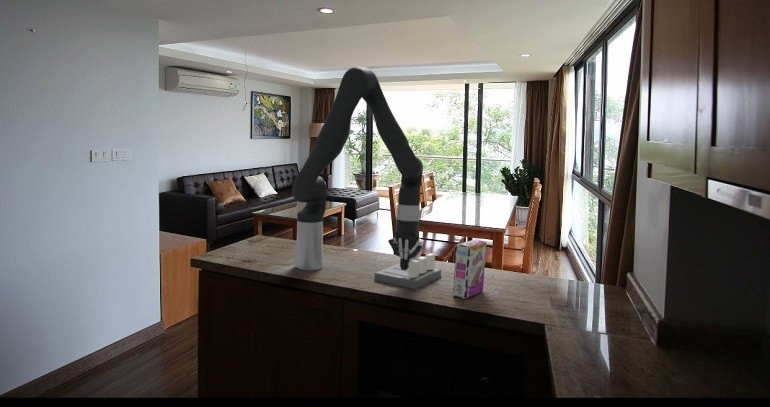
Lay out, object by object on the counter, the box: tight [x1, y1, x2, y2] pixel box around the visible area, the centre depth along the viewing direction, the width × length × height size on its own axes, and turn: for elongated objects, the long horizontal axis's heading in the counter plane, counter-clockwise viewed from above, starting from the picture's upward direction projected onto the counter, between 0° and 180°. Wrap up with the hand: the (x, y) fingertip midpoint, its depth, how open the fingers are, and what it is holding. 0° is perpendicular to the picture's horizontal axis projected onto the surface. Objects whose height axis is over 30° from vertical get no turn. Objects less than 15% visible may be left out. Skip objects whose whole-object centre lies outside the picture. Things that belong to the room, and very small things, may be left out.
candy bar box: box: [452, 239, 488, 300], centre depth 146 cm, size 11×5×16 cm, turn 141°
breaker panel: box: [373, 252, 442, 290], centre depth 161 cm, size 16×18×8 cm
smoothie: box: [410, 238, 425, 261], centre depth 179 cm, size 6×6×14 cm
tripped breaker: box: [408, 260, 419, 278], centre depth 153 cm, size 2×4×5 cm, turn 148°
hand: (404, 269), depth 155 cm, fingers closed
